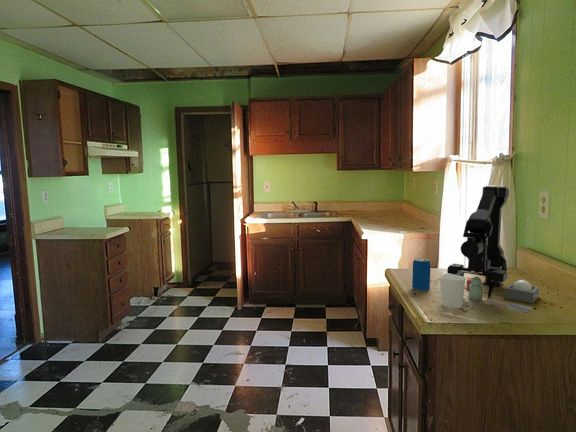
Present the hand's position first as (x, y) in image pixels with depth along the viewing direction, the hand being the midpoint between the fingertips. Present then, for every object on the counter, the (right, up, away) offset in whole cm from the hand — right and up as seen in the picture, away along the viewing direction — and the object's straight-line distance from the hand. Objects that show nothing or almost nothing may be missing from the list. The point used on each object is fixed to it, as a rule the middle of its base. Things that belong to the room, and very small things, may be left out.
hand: (475, 295), depth 148 cm
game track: (+5, -2, -4) cm, 7 cm away
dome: (+17, -1, +2) cm, 17 cm away
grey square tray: (+17, -1, +2) cm, 17 cm away
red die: (+4, 0, +13) cm, 14 cm away
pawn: (0, -1, 0) cm, 1 cm away
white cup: (-11, -3, -5) cm, 12 cm away
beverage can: (-15, 0, +13) cm, 20 cm away
